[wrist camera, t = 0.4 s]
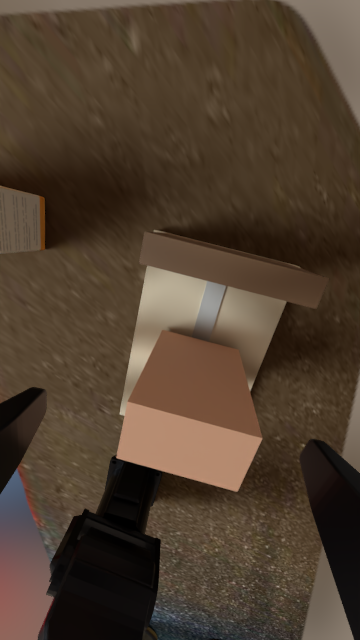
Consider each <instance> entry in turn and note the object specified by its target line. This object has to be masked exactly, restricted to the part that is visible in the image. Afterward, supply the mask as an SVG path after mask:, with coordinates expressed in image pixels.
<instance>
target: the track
mask: <svg viewBox="0 0 360 640" xmlns="http://www.w3.org/2000/svg"><path fill="white" fill-rule="evenodd" d="M139 263H140V264H143V265H147V270H146V275H145V281H144V286H143V291H142V297H141V302H140V307H139V313H138V318H137V323H136V329H135V334H134V339H133V345H132V350H131V355H130V361H129V366H128V372H127V377H126V382H125V388H124V393H123V398H122V404H121V409H120V415H124V416H125V412H126V406H127V402H128V399H129V397H130V395H131V393H132V391H133V389H134V387H135V385H136V383H137V381H138V379H139V377H140V375H141V373H142V371H143V369H144V367H145V364H146V362H147V360H148V358H149V356H150V354H151V352H152V350H153V348H154V346H155V344H156V342H157V340H158V338H159V336H160V334H161V332H162V330H166V331H169V332H173V333H177V334H181V335H185V336H188V337H192V338H196V339H200V340H204V341H207V342H211V343H215V344H219V345H222V346H226V347H230V348H234V349H238V350H239V352H240V356H241V360H242V364H243V367H244V371H245V375H246V379H247V382H248V386H249V390H251V388H252V385H253V383H254V381H255V378H256V376H257V373H258V371H259V368H260V366H261V363H262V361H263V358H264V356H265V354H266V351H267V349H268V346H269V344H270V341H271V339H272V336H273V334H274V331H275V329H276V327H277V324H278V322H279V319H280V317H281V314H282V312H283V309H284V307H285V304H286V302H291V303H295V304H299V305H302V306H306V307H310V308H314V309H316V308H317V306H318V304H319V302H320V300H321V297H322V295H323V293H324V291H325V289H326V286H327V284H328V282H329V280H330V279H329V278H327V277H324V276H321V275H318V274H315V273H312V272H310V271H307V270H304V269H301V267H299V266H296V265H293V264H289V263H285V262H281V261H277V260H273V259H269V258H265V257H261V256H257V255H253V254H249V253H246V252H242V251H238V250H234V249H230V248H226V247H222V246H218V245H214V244H210V243H206V242H202V241H198V240H194V239H190V238H186V237H183V236H179V235H175V234H171V233H167V232H163V231H159V230H154V232H144V237H143V243H142V249H141V254H140V260H139Z"/></svg>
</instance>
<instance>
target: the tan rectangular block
mask: <svg viewBox="0 0 360 640" xmlns="http://www.w3.org/2000/svg"><path fill="white" fill-rule="evenodd" d="M261 440H262V435H261V431H260V427H259V423H258V420H257V416H256V412H255V409H254V405H253V401H252V397H251V394H250V390H249V386H248V382H247V379H246V375H245V371H244V367H243V364H242V360H241V356H240V352H239V350H238V349H234V348H230V347H226V346H222V345H219V344H215V343H211V342H207V341H204V340H200V339H196V338H192V337H188V336H185V335H181V334H177V333H173V332H169V331H166V330H162V332H161V334H160V336H159V338H158V340H157V342H156V344H155V346H154V348H153V350H152V352H151V354H150V356H149V358H148V360H147V362H146V364H145V367H144V369H143V371H142V373H141V375H140V377H139V379H138V381H137V383H136V385H135V387H134V389H133V391H132V393H131V395H130V397H129V399H128V402H127V406H126V412H125V417H124V422H123V427H122V432H121V437H120V442H119V447H118V452H117V457H116V458H117V459H121V460H125V461H128V462H132V463H135V464H139V465H143V466H146V467H150V468H153V469H157V470H160V471H164V472H168V473H171V474H175V475H178V476H182V477H186V478H189V479H193V480H196V481H200V482H204V483H207V484H211V485H214V486H218V487H222V488H225V489H229V490H232V491H236V492H238V490H239V488H240V485H241V483H242V481H243V479H244V477H245V475H246V473H247V470H248V468H249V466H250V464H251V462H252V460H253V458H254V455H255V453H256V451H257V449H258V447H259V445H260V443H261Z"/></svg>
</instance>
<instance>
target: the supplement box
mask: <svg viewBox="0 0 360 640" xmlns="http://www.w3.org/2000/svg"><path fill="white" fill-rule="evenodd" d="M39 250H45V198H44V197H42V196H38V195H35V194H31V193H27V192H23V191H19V190H15V189H11V188H7V187H3V186H0V254H2V253H15V252H27V251H39Z"/></svg>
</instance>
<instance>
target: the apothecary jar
mask: <svg viewBox="0 0 360 640" xmlns="http://www.w3.org/2000/svg"><path fill="white" fill-rule="evenodd" d="M142 640H157V634H156V632H155V631H154V630H153V629H152V628H151V627H150V626H148V627H147V629H146V631H145V632H144V633H143V638H142Z"/></svg>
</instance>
